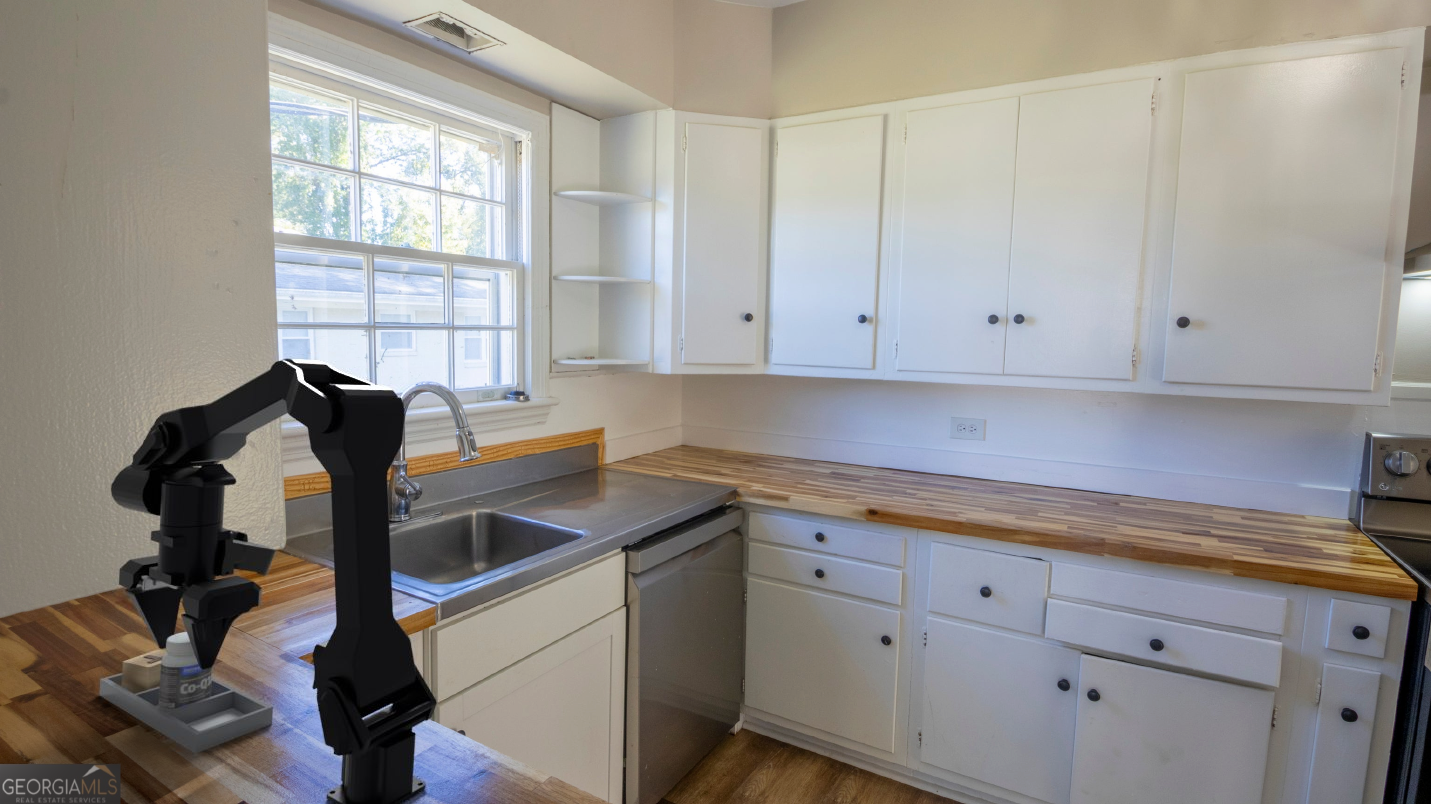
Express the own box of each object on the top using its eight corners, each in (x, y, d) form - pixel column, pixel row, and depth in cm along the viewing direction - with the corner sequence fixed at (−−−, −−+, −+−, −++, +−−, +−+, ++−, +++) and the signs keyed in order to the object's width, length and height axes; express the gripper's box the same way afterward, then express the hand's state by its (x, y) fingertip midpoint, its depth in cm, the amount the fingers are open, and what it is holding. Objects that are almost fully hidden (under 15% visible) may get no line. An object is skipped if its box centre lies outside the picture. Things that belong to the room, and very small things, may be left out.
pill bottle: (182, 722, 76) (185, 646, 75) (146, 715, 76) (150, 640, 76) (220, 703, 80) (224, 632, 80) (187, 696, 81) (191, 626, 81)
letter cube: (181, 687, 83) (183, 653, 83) (147, 701, 79) (149, 666, 79) (156, 681, 84) (158, 648, 84) (121, 695, 80) (122, 660, 80)
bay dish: (271, 731, 77) (272, 706, 76) (194, 762, 70) (196, 735, 70) (174, 680, 87) (175, 658, 87) (99, 702, 80) (100, 679, 80)
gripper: (312, 524, 80) (304, 655, 81) (225, 501, 89) (219, 620, 90) (204, 540, 71) (197, 690, 71) (119, 513, 79) (113, 646, 80)
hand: (185, 657), depth 78 cm, fingers open, 9 cm apart
